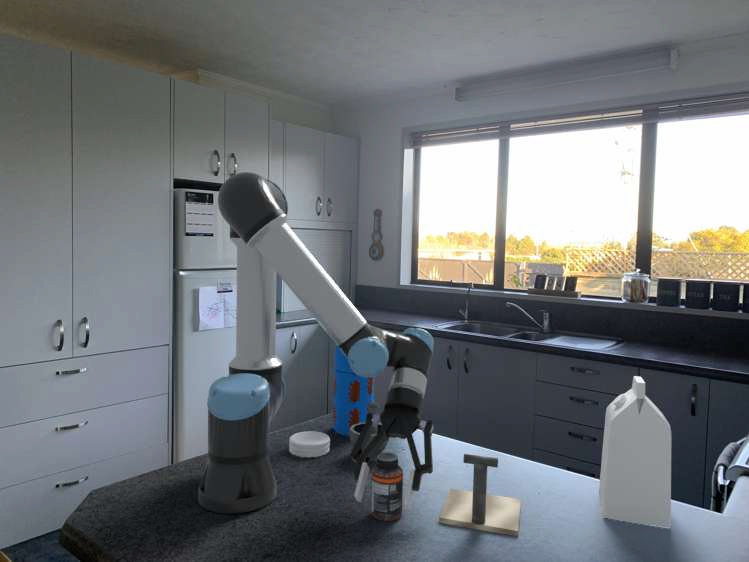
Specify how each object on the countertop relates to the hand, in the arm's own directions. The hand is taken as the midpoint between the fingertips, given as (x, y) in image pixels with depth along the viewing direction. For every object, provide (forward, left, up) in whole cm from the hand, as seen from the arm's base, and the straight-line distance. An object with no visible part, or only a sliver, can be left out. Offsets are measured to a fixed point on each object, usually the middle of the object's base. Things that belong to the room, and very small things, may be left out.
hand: (381, 502), depth 100 cm
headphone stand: (+17, +10, -4) cm, 20 cm away
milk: (+45, +22, -4) cm, 50 cm away
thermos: (-22, +46, -4) cm, 51 cm away
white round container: (-27, +28, -4) cm, 39 cm away
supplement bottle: (0, +3, -4) cm, 5 cm away
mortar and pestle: (-12, +30, -4) cm, 33 cm away
